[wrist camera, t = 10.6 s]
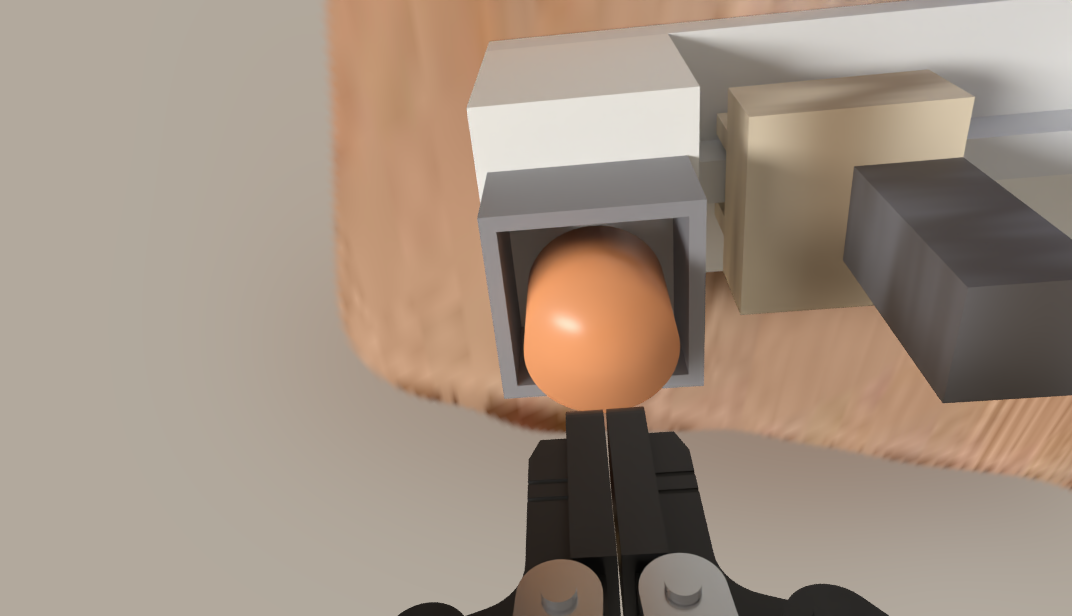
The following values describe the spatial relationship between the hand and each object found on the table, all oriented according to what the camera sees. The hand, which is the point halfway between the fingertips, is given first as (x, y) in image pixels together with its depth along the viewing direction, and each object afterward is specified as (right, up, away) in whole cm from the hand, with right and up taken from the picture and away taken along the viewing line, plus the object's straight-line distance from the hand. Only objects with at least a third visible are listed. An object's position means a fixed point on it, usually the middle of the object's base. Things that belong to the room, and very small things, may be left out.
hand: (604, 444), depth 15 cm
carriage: (+8, +8, +12) cm, 16 cm away
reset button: (0, +3, +5) cm, 6 cm away
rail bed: (+9, +9, +13) cm, 19 cm away
